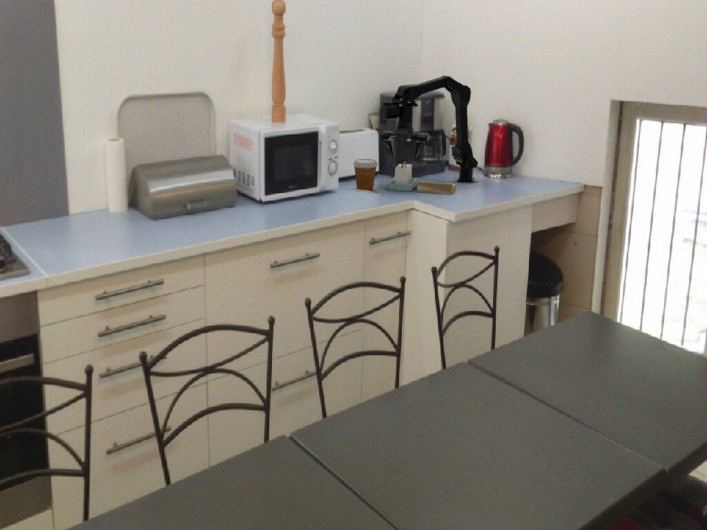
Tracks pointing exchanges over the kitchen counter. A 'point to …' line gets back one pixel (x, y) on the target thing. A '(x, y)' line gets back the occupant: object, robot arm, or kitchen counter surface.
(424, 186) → the bay
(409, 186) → the tray
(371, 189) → the disposable coffee cup
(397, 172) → the white handled drawer
